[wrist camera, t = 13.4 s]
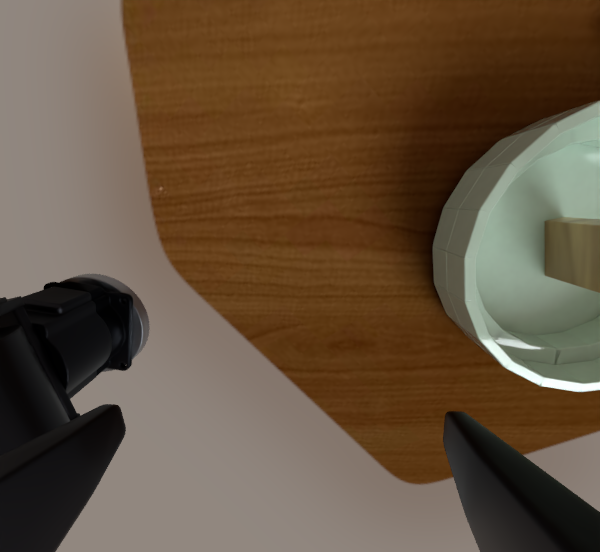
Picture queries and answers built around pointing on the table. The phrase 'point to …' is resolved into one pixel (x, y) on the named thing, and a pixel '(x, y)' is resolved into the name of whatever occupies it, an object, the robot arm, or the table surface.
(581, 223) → the wooden muddler
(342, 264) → the table surface
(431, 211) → the table surface
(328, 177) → the table surface
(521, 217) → the bowl
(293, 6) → the table surface
